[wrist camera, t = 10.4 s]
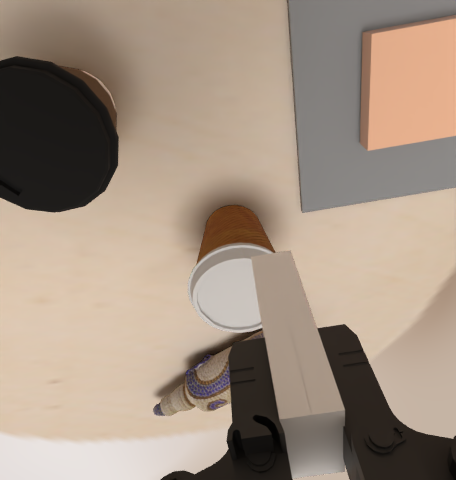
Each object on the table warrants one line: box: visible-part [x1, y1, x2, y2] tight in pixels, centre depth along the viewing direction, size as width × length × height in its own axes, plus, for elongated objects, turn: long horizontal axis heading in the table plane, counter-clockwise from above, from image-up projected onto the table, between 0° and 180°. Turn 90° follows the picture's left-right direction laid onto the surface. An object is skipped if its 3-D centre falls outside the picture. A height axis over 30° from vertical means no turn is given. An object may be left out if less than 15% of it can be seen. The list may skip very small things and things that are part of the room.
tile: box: [360, 15, 456, 151], centre depth 35 cm, size 10×2×9 cm
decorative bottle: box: [153, 330, 264, 416], centre depth 53 cm, size 26×8×7 cm, turn 125°
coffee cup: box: [0, 56, 119, 212], centre depth 31 cm, size 11×11×12 cm
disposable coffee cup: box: [188, 205, 276, 333], centre depth 39 cm, size 10×10×12 cm
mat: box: [288, 0, 456, 213], centre depth 36 cm, size 24×18×1 cm
